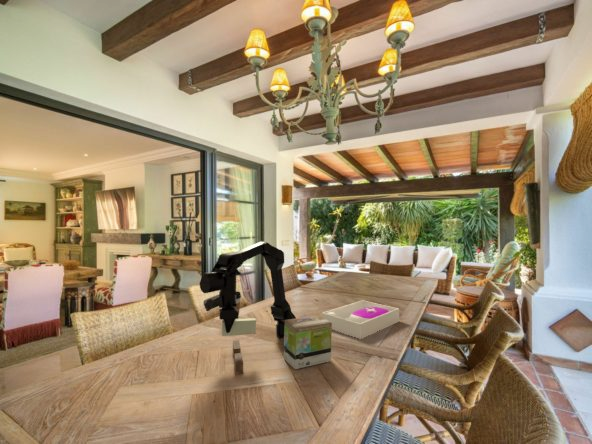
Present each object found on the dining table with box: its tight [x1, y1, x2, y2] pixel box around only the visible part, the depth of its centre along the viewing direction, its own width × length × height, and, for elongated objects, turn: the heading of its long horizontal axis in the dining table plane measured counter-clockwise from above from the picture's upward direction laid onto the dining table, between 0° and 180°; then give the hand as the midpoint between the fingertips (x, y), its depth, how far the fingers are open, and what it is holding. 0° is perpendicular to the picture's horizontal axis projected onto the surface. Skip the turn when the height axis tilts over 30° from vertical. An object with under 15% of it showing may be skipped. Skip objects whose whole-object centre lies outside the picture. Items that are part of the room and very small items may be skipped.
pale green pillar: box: [221, 317, 257, 337], centre depth 109 cm, size 12×2×5 cm, turn 105°
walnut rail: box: [232, 339, 244, 375], centre depth 109 cm, size 2×20×4 cm, turn 14°
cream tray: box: [321, 299, 400, 340], centre depth 149 cm, size 22×35×7 cm, turn 133°
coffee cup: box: [235, 291, 242, 319], centre depth 152 cm, size 8×8×15 cm
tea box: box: [283, 314, 333, 371], centre depth 109 cm, size 15×10×15 cm, turn 117°
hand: (227, 331), depth 108 cm, fingers closed on pale green pillar, 2 cm apart
